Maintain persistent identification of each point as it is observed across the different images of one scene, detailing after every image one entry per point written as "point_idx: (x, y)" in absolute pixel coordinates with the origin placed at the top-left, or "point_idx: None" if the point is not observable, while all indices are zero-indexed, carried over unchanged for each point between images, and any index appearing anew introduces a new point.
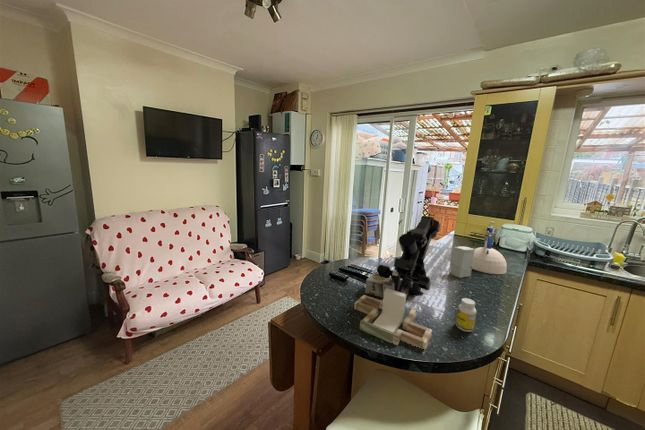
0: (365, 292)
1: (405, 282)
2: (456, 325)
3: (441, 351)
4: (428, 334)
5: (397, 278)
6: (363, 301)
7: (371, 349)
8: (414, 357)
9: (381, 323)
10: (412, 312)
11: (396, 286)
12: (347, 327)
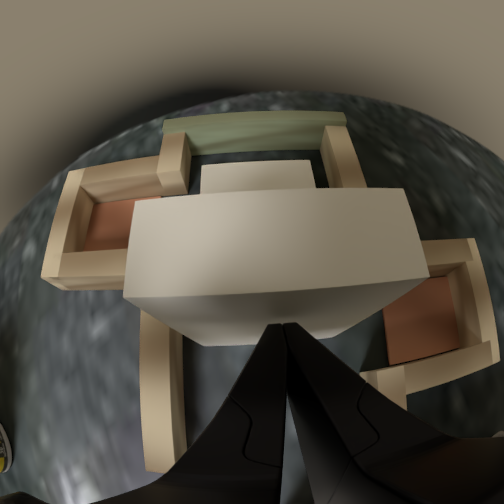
0: (500, 431)
1: (147, 497)
2: (4, 435)
3: (39, 227)
4: (55, 229)
5: (438, 492)
6: (468, 313)
7: (242, 95)
8: (115, 143)
9: (278, 188)
10: (152, 401)
11: (344, 402)
12: (371, 130)
